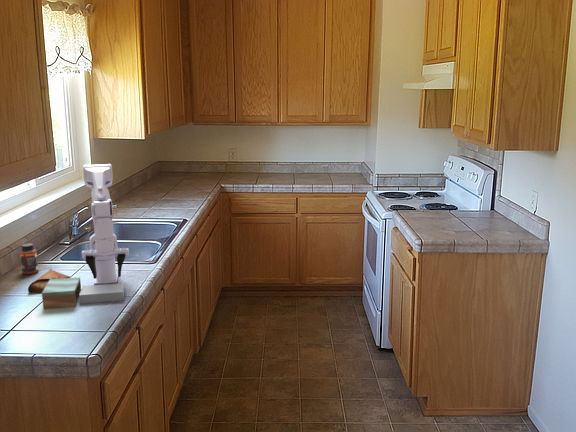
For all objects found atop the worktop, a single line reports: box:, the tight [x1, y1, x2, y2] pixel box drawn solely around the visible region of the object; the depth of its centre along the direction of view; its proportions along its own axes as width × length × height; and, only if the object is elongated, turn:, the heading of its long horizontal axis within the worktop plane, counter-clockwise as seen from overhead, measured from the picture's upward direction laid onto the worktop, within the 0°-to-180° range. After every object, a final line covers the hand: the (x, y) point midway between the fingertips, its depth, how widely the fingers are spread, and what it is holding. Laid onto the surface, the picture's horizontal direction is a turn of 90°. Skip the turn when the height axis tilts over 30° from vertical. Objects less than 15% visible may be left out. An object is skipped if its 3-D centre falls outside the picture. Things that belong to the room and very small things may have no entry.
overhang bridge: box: [41, 277, 82, 310], centre depth 188 cm, size 13×10×6 cm
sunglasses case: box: [27, 268, 71, 294], centre depth 204 cm, size 18×7×7 cm
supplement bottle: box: [19, 242, 39, 275], centre depth 216 cm, size 6×6×11 cm
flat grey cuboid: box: [78, 282, 126, 305], centre depth 191 cm, size 9×14×3 cm, turn 102°
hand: (107, 276), depth 183 cm, fingers open, 7 cm apart
